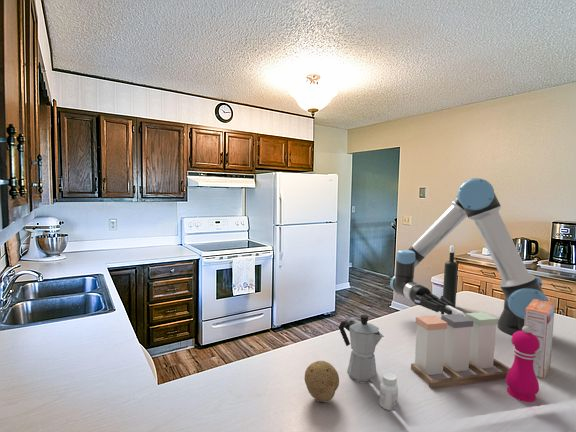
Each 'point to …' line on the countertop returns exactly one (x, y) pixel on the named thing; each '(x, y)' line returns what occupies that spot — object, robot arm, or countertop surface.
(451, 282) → the wine bottle
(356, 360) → the coffee maker
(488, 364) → the green lidded canister
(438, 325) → the orange lidded canister
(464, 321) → the gray lidded canister
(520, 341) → the pepper mill
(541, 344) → the cracker box
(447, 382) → the wooden stand
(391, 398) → the pill bottle
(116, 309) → the countertop surface
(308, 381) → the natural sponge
